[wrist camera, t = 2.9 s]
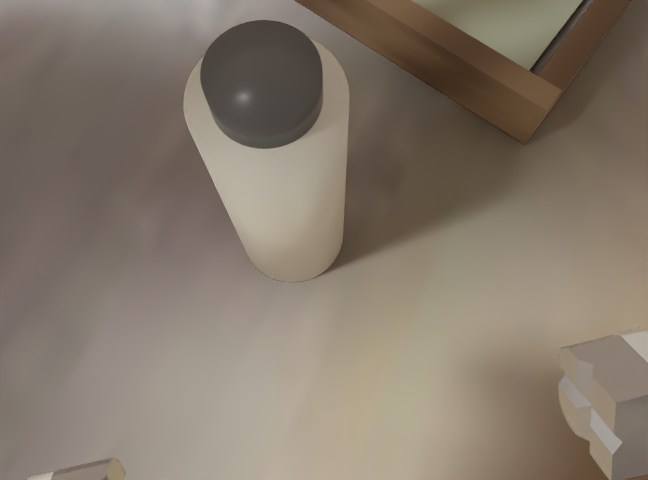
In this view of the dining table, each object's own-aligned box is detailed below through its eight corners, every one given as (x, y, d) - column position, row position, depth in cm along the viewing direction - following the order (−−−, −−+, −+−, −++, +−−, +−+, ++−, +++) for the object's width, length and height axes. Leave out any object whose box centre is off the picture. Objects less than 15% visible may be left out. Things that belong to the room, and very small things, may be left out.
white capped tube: (222, 242, 26) (134, 86, 15) (285, 169, 27) (249, -30, 16) (301, 302, 25) (274, 187, 14) (363, 224, 26) (386, 56, 15)
